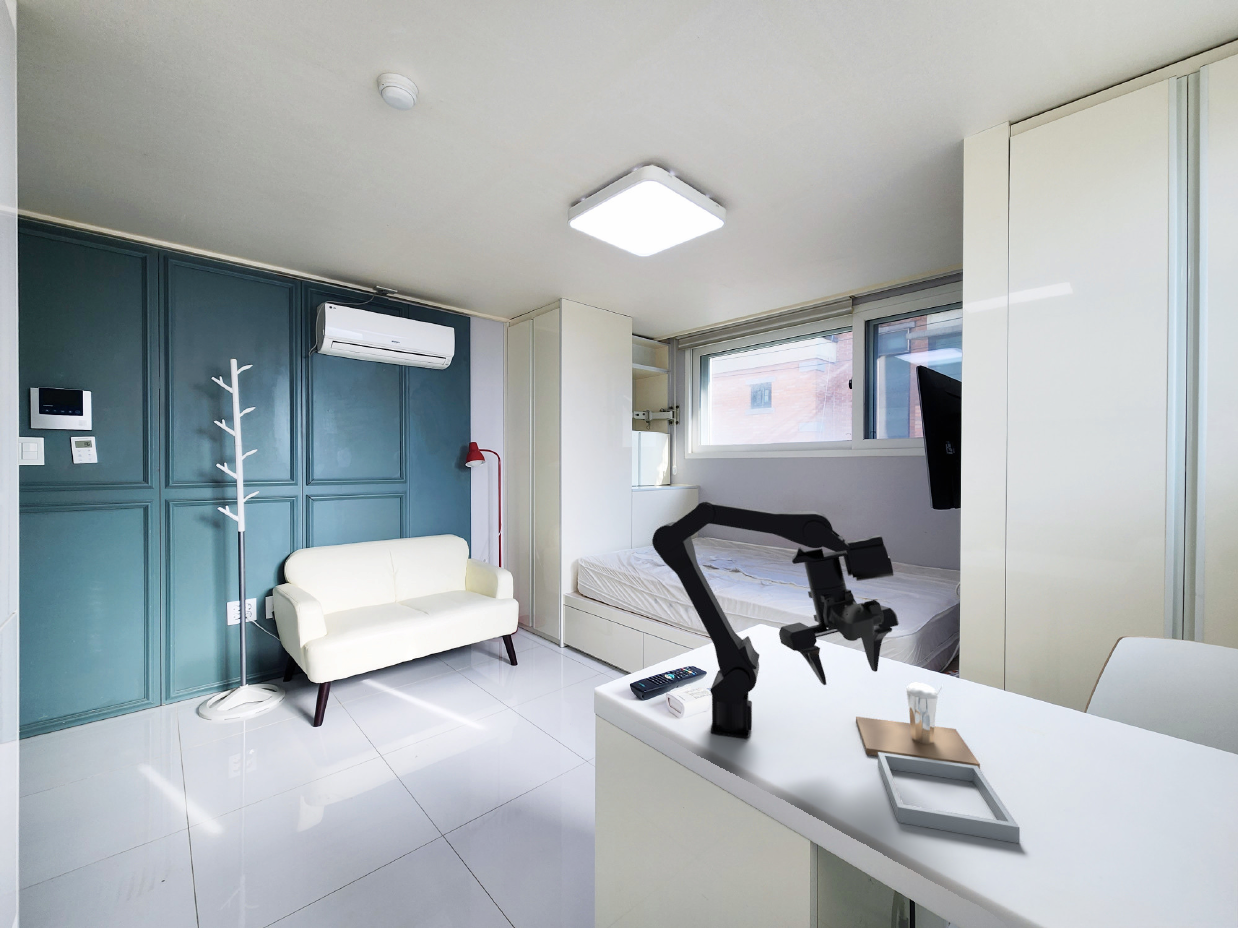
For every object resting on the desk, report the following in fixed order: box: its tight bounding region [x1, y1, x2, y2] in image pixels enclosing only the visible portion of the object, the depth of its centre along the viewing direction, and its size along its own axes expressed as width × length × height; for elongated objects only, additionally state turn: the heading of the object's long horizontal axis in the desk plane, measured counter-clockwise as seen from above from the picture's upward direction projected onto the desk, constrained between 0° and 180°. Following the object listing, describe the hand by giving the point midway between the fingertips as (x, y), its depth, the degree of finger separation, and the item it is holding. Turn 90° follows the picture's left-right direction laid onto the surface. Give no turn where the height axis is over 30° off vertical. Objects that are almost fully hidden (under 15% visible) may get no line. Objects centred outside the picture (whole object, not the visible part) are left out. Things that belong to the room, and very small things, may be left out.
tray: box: [877, 752, 1020, 844], centre depth 72 cm, size 14×14×2 cm
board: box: [855, 716, 981, 770], centre depth 87 cm, size 16×11×1 cm
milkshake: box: [906, 682, 944, 744], centre depth 86 cm, size 4×5×10 cm
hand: (849, 677), depth 86 cm, fingers open, 9 cm apart
